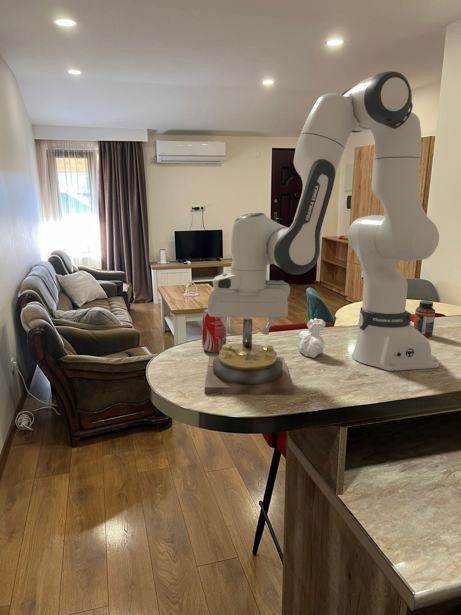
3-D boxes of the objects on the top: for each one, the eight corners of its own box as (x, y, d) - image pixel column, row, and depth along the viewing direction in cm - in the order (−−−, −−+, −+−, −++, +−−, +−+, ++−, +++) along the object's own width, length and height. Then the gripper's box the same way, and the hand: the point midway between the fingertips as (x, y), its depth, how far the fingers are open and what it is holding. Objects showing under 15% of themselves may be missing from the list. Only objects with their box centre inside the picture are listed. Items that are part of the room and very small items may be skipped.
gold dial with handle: (273, 351, 114) (274, 318, 112) (279, 371, 100) (280, 334, 98) (220, 350, 114) (220, 317, 112) (218, 371, 100) (218, 333, 98)
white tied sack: (321, 367, 121) (345, 334, 121) (302, 353, 118) (327, 320, 118) (301, 353, 132) (323, 323, 132) (283, 340, 129) (306, 309, 129)
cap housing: (283, 362, 118) (283, 348, 117) (293, 394, 98) (294, 377, 97) (209, 361, 118) (209, 347, 117) (204, 393, 98) (204, 376, 97)
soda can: (203, 345, 131) (203, 306, 128) (226, 346, 131) (227, 307, 128) (201, 353, 124) (200, 312, 121) (225, 354, 124) (226, 313, 121)
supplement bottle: (409, 332, 147) (412, 299, 144) (426, 332, 147) (430, 299, 145) (418, 338, 141) (422, 303, 138) (436, 337, 142) (440, 303, 139)
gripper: (288, 278, 111) (286, 330, 114) (208, 277, 111) (208, 329, 114) (292, 283, 105) (289, 338, 108) (207, 281, 105) (206, 336, 108)
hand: (247, 333), depth 111 cm, fingers open, 8 cm apart
